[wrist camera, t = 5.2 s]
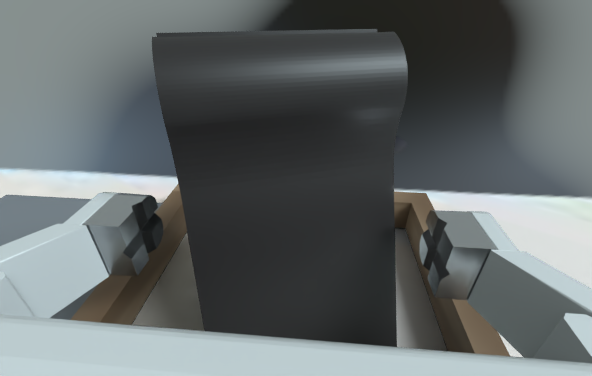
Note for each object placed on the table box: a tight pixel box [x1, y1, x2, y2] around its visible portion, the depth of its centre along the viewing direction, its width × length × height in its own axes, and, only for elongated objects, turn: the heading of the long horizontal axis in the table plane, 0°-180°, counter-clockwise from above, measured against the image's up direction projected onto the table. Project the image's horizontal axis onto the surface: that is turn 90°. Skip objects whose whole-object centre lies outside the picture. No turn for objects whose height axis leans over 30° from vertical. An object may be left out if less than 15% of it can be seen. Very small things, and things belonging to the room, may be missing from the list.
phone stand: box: [152, 29, 408, 347], centre depth 11 cm, size 9×6×12 cm, turn 16°
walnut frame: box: [71, 184, 510, 356], centre depth 13 cm, size 16×17×2 cm
